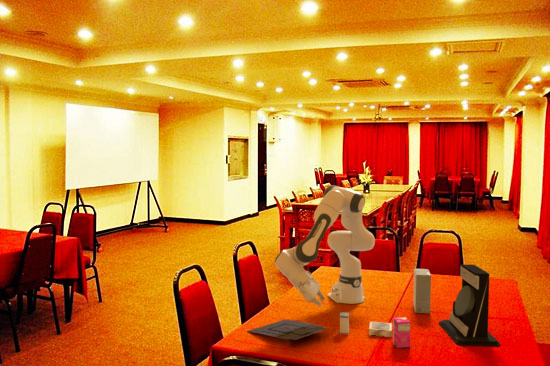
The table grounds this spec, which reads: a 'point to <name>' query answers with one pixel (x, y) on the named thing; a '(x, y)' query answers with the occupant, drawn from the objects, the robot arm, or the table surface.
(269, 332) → the dark grey panelled slab
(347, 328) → the plate
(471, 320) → the award
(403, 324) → the supplement box
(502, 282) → the table surface
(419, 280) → the hard drive box
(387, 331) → the oak stand
